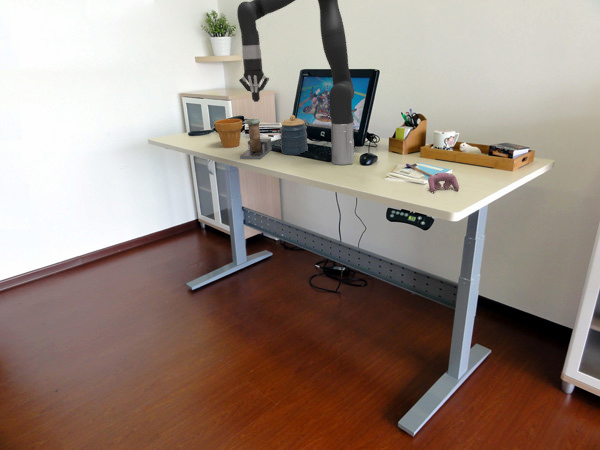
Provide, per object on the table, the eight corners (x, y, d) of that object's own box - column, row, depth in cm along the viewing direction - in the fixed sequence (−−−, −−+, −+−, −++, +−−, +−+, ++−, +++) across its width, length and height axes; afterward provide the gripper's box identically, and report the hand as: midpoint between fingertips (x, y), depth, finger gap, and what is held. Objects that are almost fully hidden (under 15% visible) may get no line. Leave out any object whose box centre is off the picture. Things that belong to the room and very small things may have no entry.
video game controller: (455, 192, 145) (453, 172, 145) (460, 190, 140) (458, 170, 141) (427, 194, 145) (425, 174, 145) (431, 192, 140) (430, 172, 140)
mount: (271, 149, 208) (270, 138, 206) (260, 159, 192) (258, 147, 190) (253, 149, 210) (252, 138, 208) (240, 159, 195) (238, 147, 192)
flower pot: (247, 142, 226) (244, 118, 220) (241, 148, 213) (238, 123, 208) (222, 143, 227) (218, 119, 222) (214, 149, 215) (211, 124, 209)
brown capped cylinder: (263, 149, 202) (261, 118, 196) (259, 152, 197) (257, 121, 191) (252, 148, 204) (249, 118, 198) (248, 152, 199) (244, 121, 193)
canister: (313, 151, 201) (312, 114, 194) (295, 157, 193) (292, 118, 186) (294, 147, 210) (292, 112, 202) (275, 153, 201) (273, 116, 194)
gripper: (270, 56, 169) (273, 99, 177) (240, 57, 173) (244, 100, 180) (264, 57, 163) (268, 102, 170) (233, 58, 166) (238, 103, 173)
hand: (256, 101), depth 175 cm, fingers closed
